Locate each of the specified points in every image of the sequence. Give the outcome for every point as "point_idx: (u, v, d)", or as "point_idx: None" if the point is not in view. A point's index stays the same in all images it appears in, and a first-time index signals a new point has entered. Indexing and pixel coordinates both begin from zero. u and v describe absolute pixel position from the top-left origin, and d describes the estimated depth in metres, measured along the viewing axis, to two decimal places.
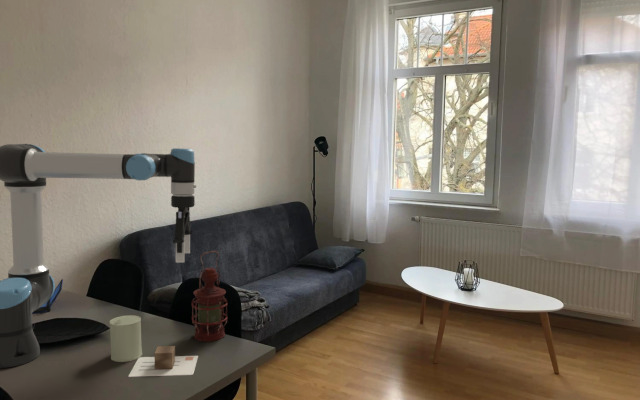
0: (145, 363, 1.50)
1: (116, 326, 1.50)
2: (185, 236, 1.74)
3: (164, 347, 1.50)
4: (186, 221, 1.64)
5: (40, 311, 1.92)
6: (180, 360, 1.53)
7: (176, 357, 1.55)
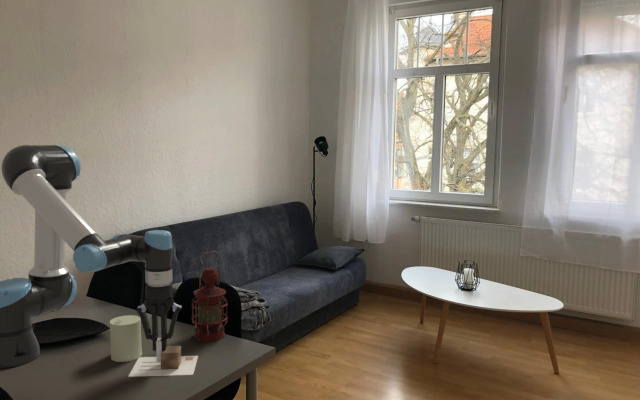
0: (145, 363, 1.50)
1: (116, 326, 1.50)
2: None
3: (170, 347, 1.50)
4: None
5: None
6: None
7: None
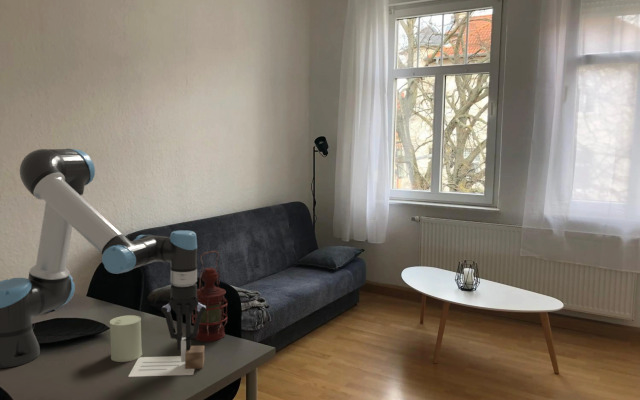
0: (145, 363, 1.50)
1: (116, 326, 1.50)
2: None
3: (194, 347, 1.51)
4: None
5: None
6: (180, 360, 1.53)
7: (176, 357, 1.55)
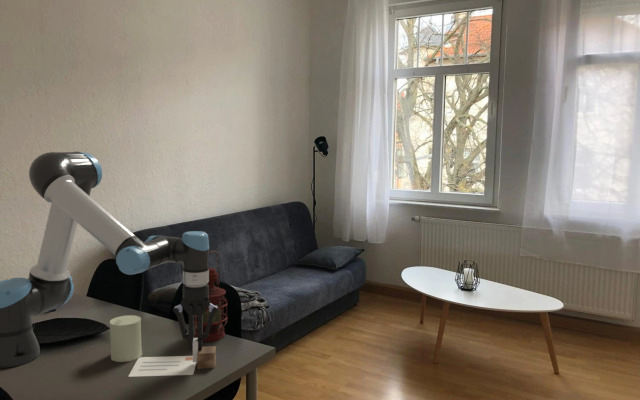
0: (145, 363, 1.50)
1: (116, 326, 1.50)
2: None
3: (206, 347, 1.52)
4: None
5: None
6: (180, 360, 1.53)
7: (176, 357, 1.55)
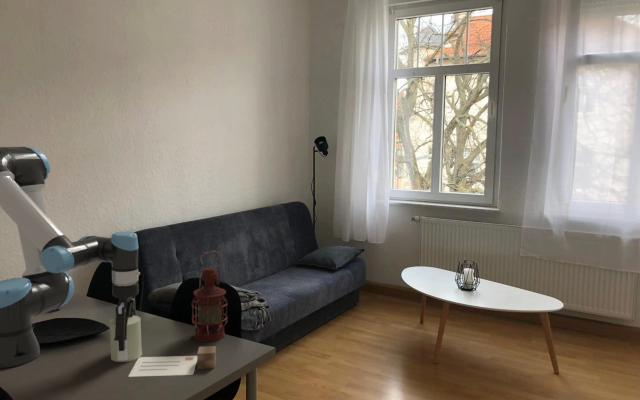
0: (145, 363, 1.50)
1: None
2: None
3: (206, 347, 1.52)
4: (128, 314, 1.51)
5: None
6: (180, 360, 1.53)
7: (176, 357, 1.55)
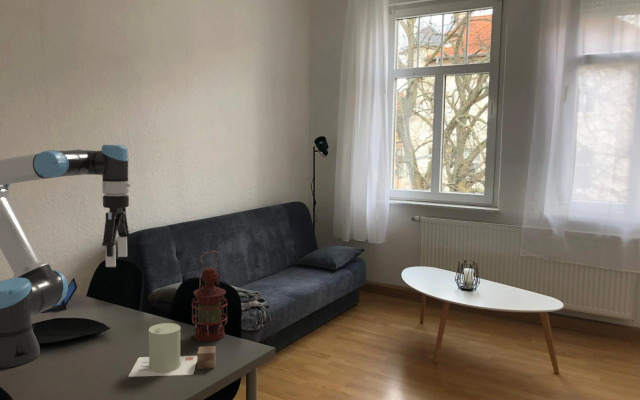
0: (145, 363, 1.50)
1: (156, 335, 1.44)
2: (121, 238, 1.63)
3: (206, 347, 1.52)
4: (118, 222, 1.53)
5: (57, 309, 1.94)
6: (180, 360, 1.53)
7: None
